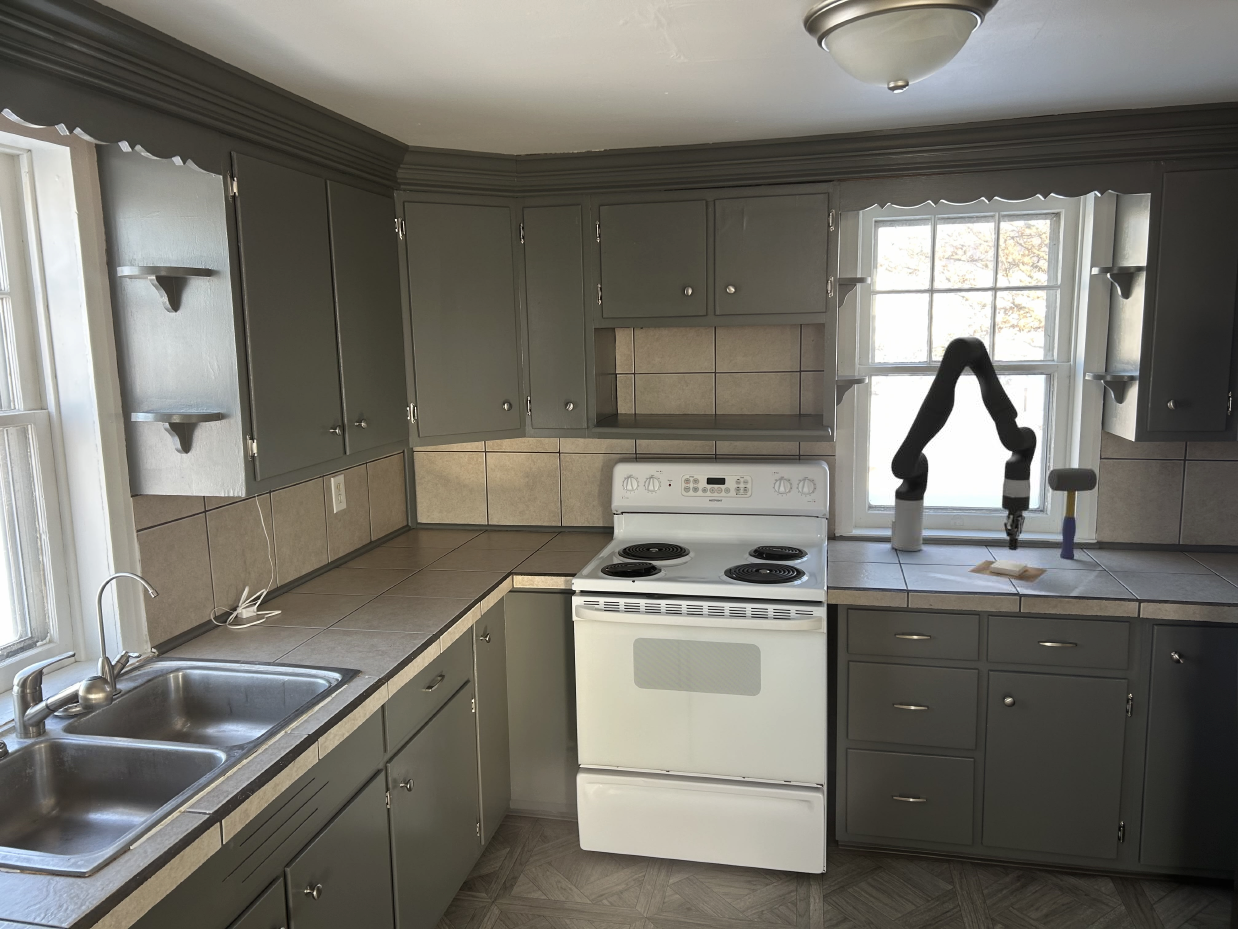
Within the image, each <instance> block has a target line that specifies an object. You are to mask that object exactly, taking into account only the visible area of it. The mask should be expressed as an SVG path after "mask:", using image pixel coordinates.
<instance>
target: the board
mask: <svg viewBox="0 0 1238 929" xmlns="http://www.w3.org/2000/svg"><path fill="white" fill-rule="evenodd" d="M995 562H996V560H995V561H994V560H988V559H986V560H984V561H983V562H981V563H979V564H978V565H977V566H975V567H973V568H972V569H970V570H969V571H968V572H969V573H974V574H979V575H986V576H993V577H999V578H1004V579H1010V580H1014V581H1015V580H1017V581H1021V582H1028V583H1034V582H1035V581H1036V580H1037V579H1039V578H1040V577H1041V576H1043V575H1045V573H1046V572H1047V571H1048V569H1046V568H1045V569H1044V568H1039V567H1033V566H1032V567H1031V566H1027V569H1026V570H1025V571H1024V572H1022V573H1021V574H1020V575H1018V576H1015V575H1008V574H1002V573H996V572H991V571H990V566H991V565H992V564H994V563H995Z"/></svg>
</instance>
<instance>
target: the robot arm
mask: <svg viewBox="0 0 1238 929" xmlns="http://www.w3.org/2000/svg"><path fill="white" fill-rule="evenodd" d="M966 368H968V369H970V370H971V372H972V373H973V374H974V376H975V377H976V380H977V382H978V385H979V388H980V394H981V395H980V396H981V400H982V403H983V406H984V407H985V410H986V411H987V412H988V414H989V416H990V418H991V419H992V421H993V422H994V425H995V430H996V433H997V435H998V438H999V442H1000V443H1001V445H1002V446H1003V448H1004V449H1006V450H1007V451H1008V452H1011V456H1010V458H1008V459H1007V460H1006V461H1005V464H1004V476H1003V483H1002V495H1001V496H1002V497H1001V508H1002V509H1003V510H1007V511H1008V513H1007V514H1006V517H1005V520H1006V522H1004V523H1003V525H1004V526H1003V527H1004V531H1005V534H1006V537H1007V538H1008V550H1010V551H1017V550H1019V538H1020V537H1021V534H1022V533H1023V532H1022V531H1023V529H1024V528H1023V527H1024V524H1025V520H1026V516H1024V515H1023V512H1026V511H1029V510H1030V502H1031V501H1030V500H1031V465H1032V462H1033V459H1034V456H1035V453H1036V449H1037V440H1038V439H1037V435H1036V432H1035V431H1034V430H1033V429H1032V428H1030V427H1029V426H1019V425H1018V423H1017V420H1016V419H1017V418H1018V411H1017V408H1016V407H1015V406H1014V404H1013V402H1012V400H1011V398H1010V397H1009V395H1008V394H1007V393H1006V390H1005V389H1004V387H1003V385H1002V383H1001V381H1000V378H999V377H998V374H997V372H996V370H995V368H994V365H993V362H992V360H991V357H990V355H989V352H988V349H987V347H986V345H985V343H984V342H983V341H982V340H981V339H980V338H978V337H976V336H958V337H955V338H953V339H952V340H951V341H949V343H948V344H947V345H946V348H945V350H944V352H943V355H942V358H941V361H940V364H939V367H938V369H937V372H936V374H935V376H934V379H933V381H932V383H931V385H930V387H929V389H928V391H927V394H926V396H925V397H924V399H923V400H922V403H921V405H920V407H919V409H918V412H917V414H916V416H915V418H914V420H913V422H912V424H911V426H910V428H909V430H908V432H907V434H906V436H905V438H904V440H903V441H902V443H901V445H900V446H899V447H898V449H897V451H896V452H895V454H894V455H893V458H892V459H891V462H890V463H891V465H890V468H891V469H890V470H891V472H892V475H893V476H894V477H895V478H896V479H899V480H902V482H901V484H900V485H899V486H898V487H897V488H896V489H895V491H894V513H893V514H894V516H893V519H892V520H891V532H890V534H891V538H890V541H891V542H890V548H891V549H896V550H898V551H903V552H916V551H921V550H922V549H923V530H924V529H923V528H924V505H925V504H924V502H925V493H926V492H927V490H928V489H927V488H928V479H929V460H928V458H927V455H926V454H925V453H924V452H923V451H924V449H925V448H926V446H927V445H928V444H929V443H930V442H931V441H932V440H933V438H935V437H936V435H938V434H939V432H940V431H941V430H942V429H943V428H944V426H945V425H946V423H948V422H947V421H948V420H949V418H950V416H951V414H952V411H953V409H954V406H955V396H956V394H955V393H956V386H957V383H958V380H959V379H960V377H961V375H962V373H963V372H964V370H965V369H966Z"/></svg>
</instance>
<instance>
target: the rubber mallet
mask: <svg viewBox="0 0 1238 929" xmlns="http://www.w3.org/2000/svg"><path fill="white" fill-rule="evenodd" d="M1047 478H1048V479H1047V481H1048V486H1049V488H1050V489H1051V491H1053V492H1054V491H1055V492H1066V501H1065V502H1066V503H1065V515H1064V517H1063V521H1062V527H1061V528H1062V530H1061V533H1062V534H1061V535H1062V543H1061V545H1062V546H1061V550H1060V554H1059V556H1060V559H1063V560H1065V559H1066V560H1074V559H1075V552H1074V550H1075V549H1074V547H1075V546H1074V545H1075V537H1076V531H1077V529H1076V528H1077V521H1076V514H1075V513H1076V512H1075V511H1076V498H1077V497H1076V494H1077V492H1088V491H1094V489H1095V488H1096V486H1097V483H1098V476H1097V473H1096V472H1095V471H1094V469H1092V468H1086V467H1085V468H1084V467H1083V468H1082V467H1061V468H1053V469H1052V470H1050V471H1049V473H1048V477H1047Z"/></svg>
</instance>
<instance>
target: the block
mask: <svg viewBox="0 0 1238 929" xmlns="http://www.w3.org/2000/svg"><path fill="white" fill-rule="evenodd" d="M1027 567H1028V563H1022V562H1018V561H1012V560H1011V561H1010V560H1003V559H998V560H996V561H995V563H994V564H992V565H991V566H990V571H991V572H996V573H1002V574H1008V575H1015V576H1018V575H1020V574H1021V573H1022V572H1024V571H1025V570H1026V569H1027Z"/></svg>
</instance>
